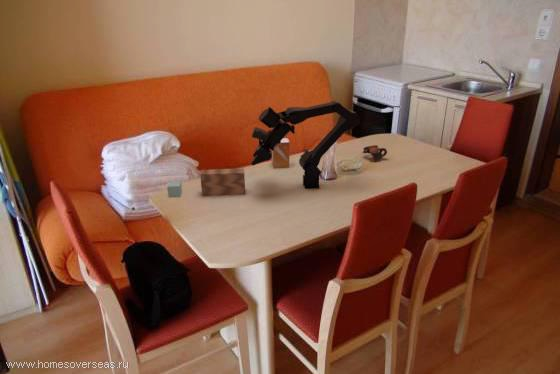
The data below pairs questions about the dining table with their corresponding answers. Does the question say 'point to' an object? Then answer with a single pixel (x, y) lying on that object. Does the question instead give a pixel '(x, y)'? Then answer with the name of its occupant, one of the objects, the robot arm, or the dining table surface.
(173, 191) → the teal cube
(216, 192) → the brown patterned block
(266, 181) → the dining table surface
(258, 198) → the dining table surface
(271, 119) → the robot arm
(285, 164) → the small box
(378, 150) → the pottery mug
